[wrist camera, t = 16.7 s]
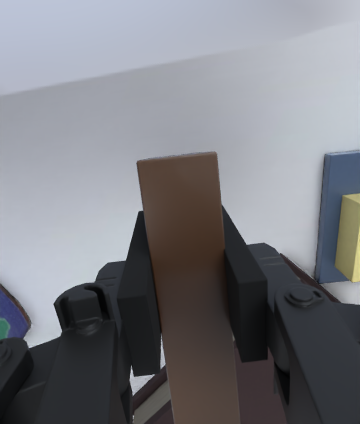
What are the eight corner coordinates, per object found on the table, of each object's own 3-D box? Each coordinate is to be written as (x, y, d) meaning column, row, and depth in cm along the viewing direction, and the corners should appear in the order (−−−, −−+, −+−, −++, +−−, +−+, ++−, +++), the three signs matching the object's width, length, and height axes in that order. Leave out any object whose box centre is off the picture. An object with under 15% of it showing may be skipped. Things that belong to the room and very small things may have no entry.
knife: (147, 158, 12) (135, 160, 8) (200, 152, 13) (217, 151, 8) (194, 500, 17) (203, 622, 12) (234, 495, 17) (257, 614, 12)
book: (233, 459, 41) (243, 512, 36) (126, 403, 37) (118, 454, 31) (386, 339, 35) (427, 382, 30) (280, 253, 30) (306, 284, 25)
